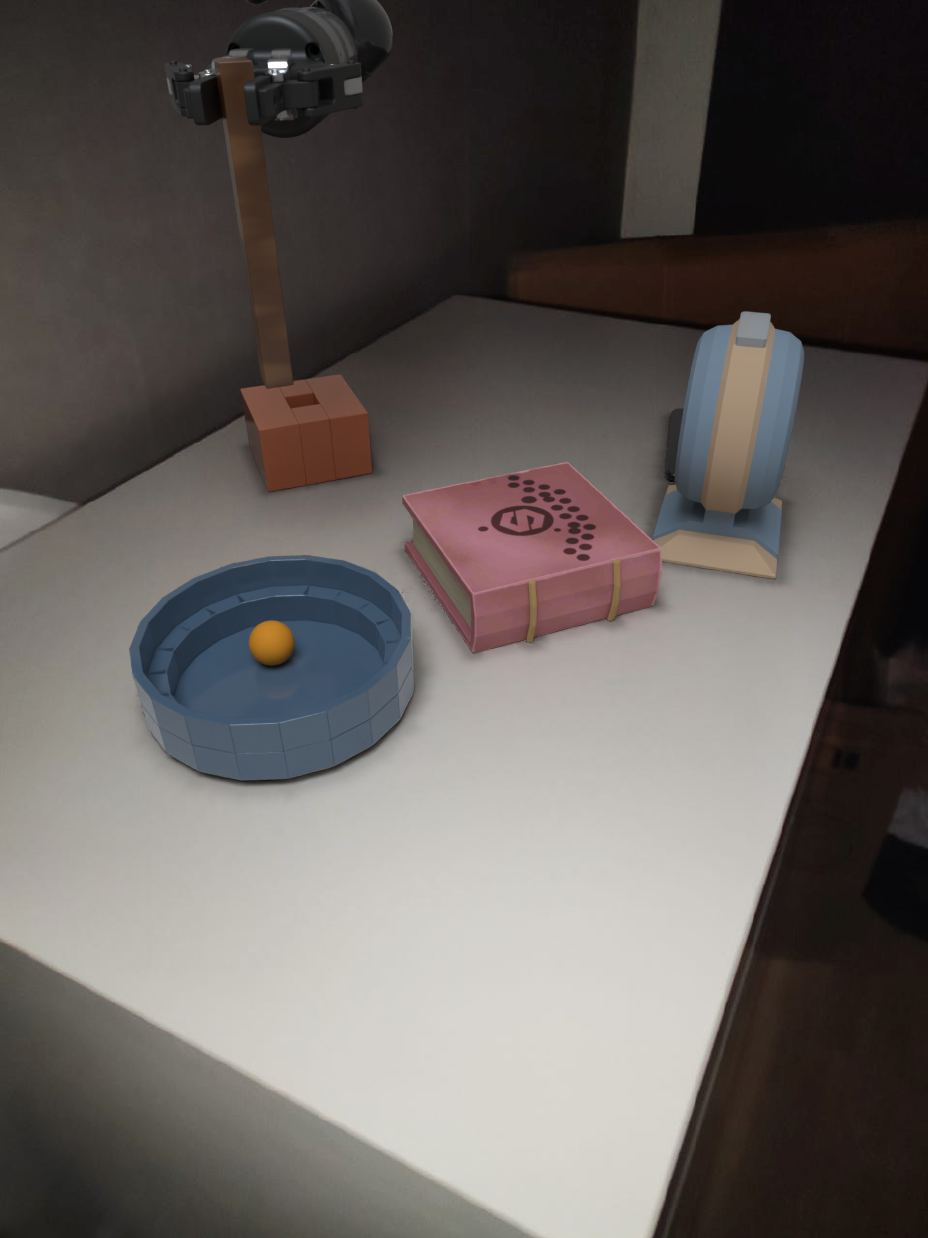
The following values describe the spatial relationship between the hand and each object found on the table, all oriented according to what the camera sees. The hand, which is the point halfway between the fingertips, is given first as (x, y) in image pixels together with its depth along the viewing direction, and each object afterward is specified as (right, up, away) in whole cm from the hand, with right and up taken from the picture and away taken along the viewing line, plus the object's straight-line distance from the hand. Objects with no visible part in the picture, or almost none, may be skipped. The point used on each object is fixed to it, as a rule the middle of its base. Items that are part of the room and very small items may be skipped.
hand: (225, 104), depth 53 cm
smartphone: (+37, -14, +35) cm, 53 cm away
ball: (+1, -31, +8) cm, 32 cm away
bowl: (+2, -34, +7) cm, 35 cm away
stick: (0, -13, +13) cm, 18 cm away
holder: (-1, -15, +34) cm, 37 cm away
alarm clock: (+35, -23, +23) cm, 47 cm away
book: (+19, -27, +17) cm, 37 cm away
